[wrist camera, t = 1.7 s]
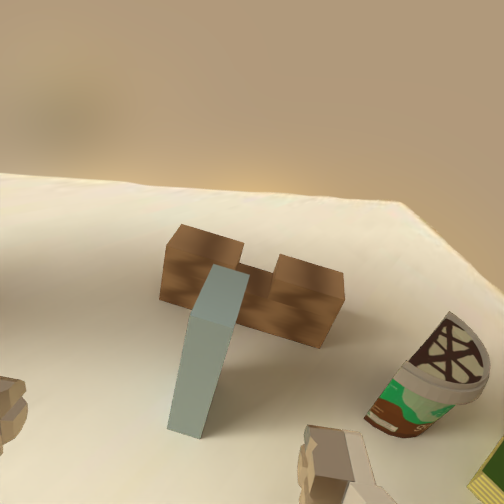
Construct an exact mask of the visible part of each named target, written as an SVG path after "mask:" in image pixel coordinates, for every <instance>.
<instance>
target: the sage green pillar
mask: <svg viewBox="0 0 504 504" xmlns="http://www.w3.org/2000/svg"><path fill="white" fill-rule="evenodd" d="M249 276H250V275H249V274H245V273H242V272H239V271H235V270H232V269H229V268H226V267H222V266H219V265H216V264H213V266H212V268H211V270H210V272H209V275H208V277H207V279H206V281H205V283H204V285H203V287H202V290H201V292H200V294H199V296H198V298H197V300H196V303H195V305H194V307H193V309H192V311H191V313H190V316H189V321H188V326H187V331H186V336H185V341H184V346H183V351H182V356H181V361H180V366H179V371H178V376H177V381H176V386H175V391H174V396H173V401H172V406H171V411H170V416H169V420H168V425H167V429H169V430H172V431H175V432H178V433H182V434H185V435H188V436H191V437H195V438H198V439H200V438H201V434H202V431H203V428H204V424H205V421H206V418H207V415H208V411H209V408H210V405H211V402H212V398H213V395H214V392H215V388H216V385H217V382H218V379H219V375H220V372H221V369H222V366H223V362H224V359H225V356H226V353H227V349H228V346H229V343H230V339H231V336H232V333H233V330H234V326H235V323H236V320H237V316H238V313H239V310H240V306H241V303H242V300H243V296H244V293H245V290H246V286H247V283H248V280H249Z"/></svg>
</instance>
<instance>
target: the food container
mask: <svg viewBox="0 0 504 504" xmlns="http://www.w3.org/2000/svg"><path fill="white" fill-rule="evenodd" d="M489 371H490V359H489V355H488V353H487V350H486V348H485V347H484V345H483V343H482V342H481V340H480V339H479V338H478V336H477V335H476V334H475V333H474V332H473V331H472V329H471V328H470V327H469V326H467V325H466V324H465V323H464V322H463V321H462V320H461V319H459V318H458V317H457V316H456V315H454V314H453V313H451V312H450V311H449V312H448V313H447V315H446V316H445V317H444V319H443V320H442V321H441V323H440V324H439V325H438V327H437V328H436V329H435V330H434V332H433V333H432V334H431V336H430V337H429V338H428V339H427V340H426V342H425V343H424V344H423V345H422V346H421V347H420V349H419V350H418V351H417V352H416V353H415V354H414V355H413V356H412V357H411V359H410V360H409V361H407V360H406V361H405V363H404V364H403V365H402V366H401V368H400V369H399V370H398V372H397V373H396V374H395V376H394V377H393V379H392V380H391V382H390V383H389V384H388V386H387V387H386V388H385V390H384V391H383V393H382V394H381V395H380V397H379V398H378V399H377V401H376V402H375V403H374V405H373V406H372V408H371V409H370V410H369V412H368V413H367V414H366V416H365V417H364V419H365V420H366V421H367V422H368V423H370V424H371V425H372V426H373V427H375V428H377V429H379V430H381V431H383V432H384V433H386V434H388V435H392V436H396V437H400V438H411V437H416V436H418V435H420V434H421V433H423V432H424V431H425V430H426V429H428V428H429V427H430V426H431V425H432V424H434V423H435V422H436V421H437V420H438V419H440V418H441V417H442V416H443V415H444V414H446V413H447V412H448V411H449V410H450V409H452V408H453V407H454V406H455V405H462V404H467V403H470V402H473V401H474V400H476V399H477V398H478V397H479V396H480V394H481V393H482V391H483V389H484V387H485V385H486V383H487V381H488V378H489Z"/></svg>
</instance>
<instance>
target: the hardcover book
mask: <svg viewBox="0 0 504 504" xmlns="http://www.w3.org/2000/svg"><path fill="white" fill-rule="evenodd" d="M467 488H468V489H469V490H470V491H471V492H472V493H473V494H474V495H475V496H476V497H477V498H478V499H479V500H480V501H481V502H482V503H483V504H504V436H503V437H502V438H501V440H500V441H499V442H498V444H497V445H496V447H495V448H494V449H493V451H492V452H491V454H490V455H489V456H488V458H487V459H486V460H485V462H484V463H483V465H482V466H481V467H480V469H479V470H478V472H477V473H476V474H475V476H474V477H473V479H472V480H471V481H470V483H469V484H468V485H467Z"/></svg>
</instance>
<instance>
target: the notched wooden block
mask: <svg viewBox="0 0 504 504" xmlns="http://www.w3.org/2000/svg"><path fill="white" fill-rule="evenodd" d="M243 246H244V243H243V242H239V241H236V240H233V239H229V238H226V237H223V236H220V235H216V234H213V233H210V232H206V231H203V230H200V229H197V228H193V227H190V226H187V225H183V224H181V226H180V227H179V228H178V230H177V231H176V233H175V234H174V235H173V237H172V238H171V240H170V241H169V242H168V244H167V245H166V251H165V259H164V266H163V274H162V282H161V289H160V297H159V300H162V301H165V302H169V303H172V304H175V305H178V306H182V307H185V308H188V309H191V310H192V309H193V307H194V305H195V303H196V300H197V298H198V296H199V294H200V292H201V290H202V287H203V285H204V283H205V281H206V279H207V277H208V275H209V272H210V270H211V268H212V266H213V264H216V265H219V266H222V267H226V268H229V269H232V270H235V271H239V272H242V273H245V274H249V275H250V276H249V280H248V283H247V286H246V290H245V293H244V296H243V300H242V303H241V306H240V310H239V313H238V316H237V320H236V323H237V324H240V325H244V326H247V327H250V328H253V329H257V330H260V331H263V332H266V333H270V334H273V335H276V336H280V337H283V338H286V339H289V340H293V341H296V342H299V343H302V344H306V345H309V346H312V347H315V348H319V349H320V347H321V345H322V343H323V341H324V339H325V337H326V335H327V334H328V332H329V330H330V328H331V326H332V324H333V322H334V320H335V318H336V316H337V314H338V312H339V310H340V309H341V307H342V305H343V303H344V301H345V293H344V278H343V273H341V272H338V271H335V270H332V269H328V268H325V267H322V266H318V265H315V264H312V263H308V262H305V261H302V260H299V259H295V258H292V257H289V256H285V255H282V254H280V255H279V258H278V261H277V264H276V267H275V269H274V272H273V273H271V272H268V271H264V270H261V269H258V268H254V267H251V266H248V265H245V264H241V263H239V261H240V257H241V254H242V250H243Z"/></svg>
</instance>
